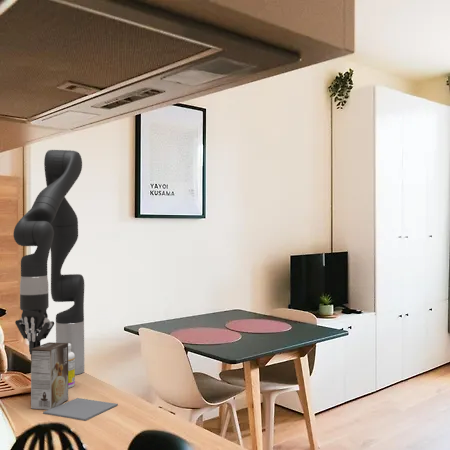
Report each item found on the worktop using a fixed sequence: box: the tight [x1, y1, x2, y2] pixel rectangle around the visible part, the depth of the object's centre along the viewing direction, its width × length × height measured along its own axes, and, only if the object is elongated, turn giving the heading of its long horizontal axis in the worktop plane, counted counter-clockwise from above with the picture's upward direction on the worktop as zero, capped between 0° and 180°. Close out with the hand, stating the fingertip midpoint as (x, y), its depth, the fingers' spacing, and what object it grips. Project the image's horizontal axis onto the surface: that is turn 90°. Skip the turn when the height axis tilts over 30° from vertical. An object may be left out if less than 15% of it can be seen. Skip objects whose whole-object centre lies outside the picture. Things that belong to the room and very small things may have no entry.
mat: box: [42, 397, 119, 422], centre depth 140 cm, size 14×13×1 cm
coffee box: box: [30, 342, 69, 411], centre depth 145 cm, size 9×6×16 cm
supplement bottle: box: [68, 343, 76, 389], centre depth 162 cm, size 7×7×13 cm
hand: (34, 354), depth 147 cm, fingers closed
